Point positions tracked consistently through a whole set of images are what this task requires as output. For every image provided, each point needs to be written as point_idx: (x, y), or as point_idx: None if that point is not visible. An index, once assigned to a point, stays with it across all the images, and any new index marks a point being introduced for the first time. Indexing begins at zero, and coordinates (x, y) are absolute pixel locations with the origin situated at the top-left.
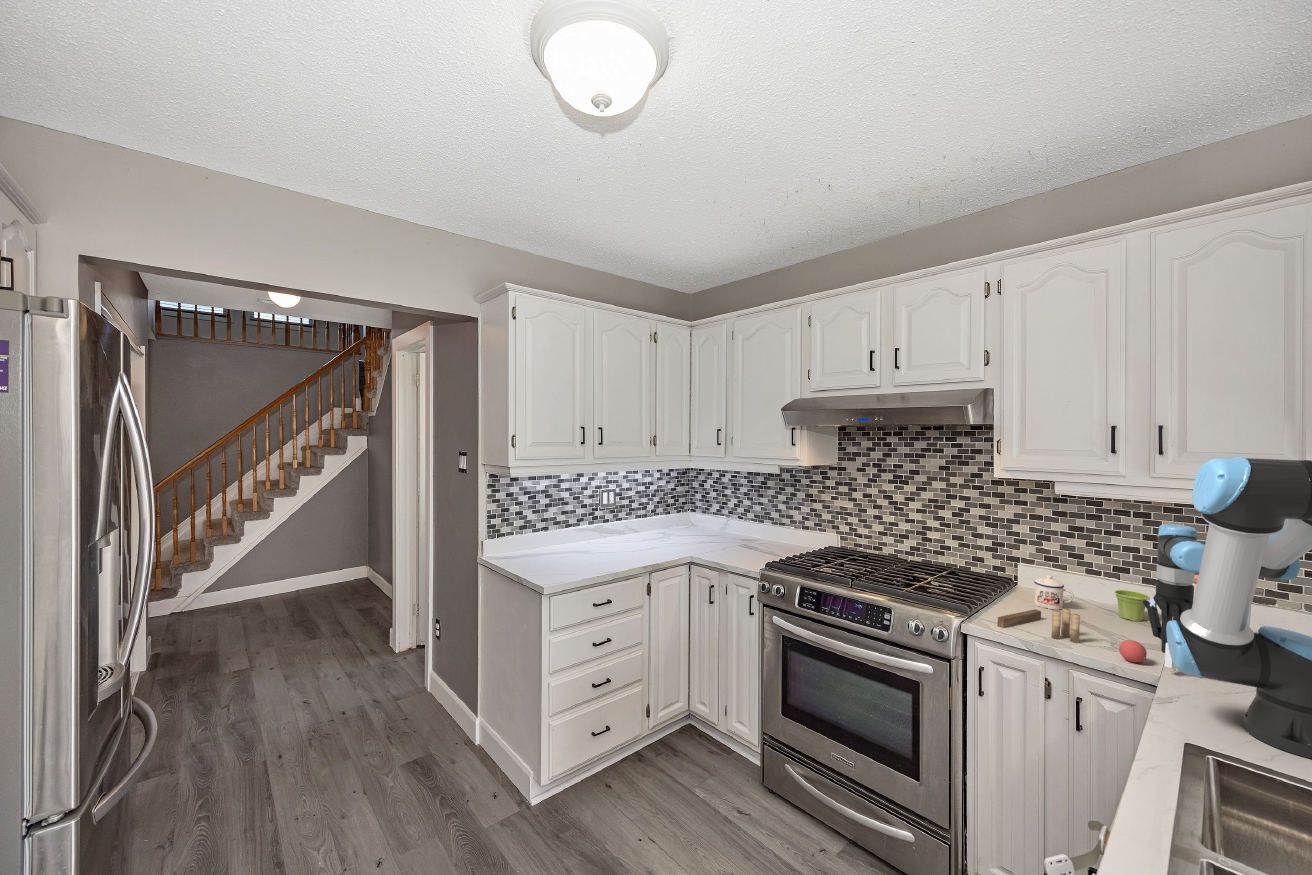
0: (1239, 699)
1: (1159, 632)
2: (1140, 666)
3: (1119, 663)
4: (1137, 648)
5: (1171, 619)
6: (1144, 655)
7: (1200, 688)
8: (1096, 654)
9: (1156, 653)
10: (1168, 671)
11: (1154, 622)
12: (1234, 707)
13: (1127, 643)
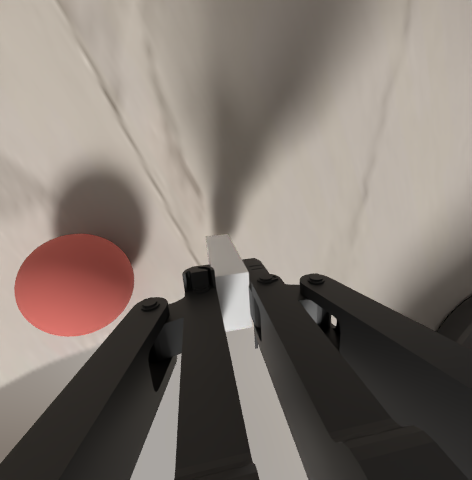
0: (383, 237)
1: (159, 339)
2: (142, 281)
3: (105, 327)
4: (109, 318)
5: (245, 439)
6: (132, 282)
7: (308, 267)
8: (15, 333)
9: (37, 44)
10: (199, 227)
11: (129, 462)
12: (391, 303)
13: (61, 334)
